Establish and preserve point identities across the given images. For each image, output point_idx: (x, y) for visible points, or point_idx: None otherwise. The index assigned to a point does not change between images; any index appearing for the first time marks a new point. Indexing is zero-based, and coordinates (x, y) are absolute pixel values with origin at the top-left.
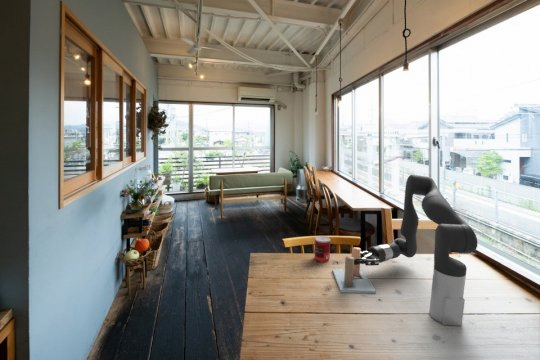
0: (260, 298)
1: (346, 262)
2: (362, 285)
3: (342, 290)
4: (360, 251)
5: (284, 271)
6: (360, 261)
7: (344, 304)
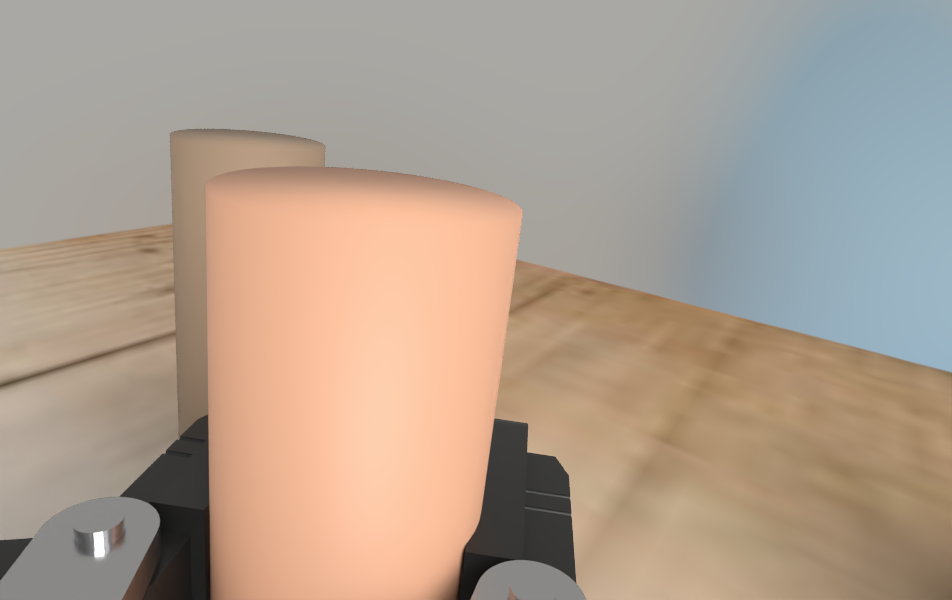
0: (535, 278)
1: None
2: None
3: None
4: (207, 266)
5: (825, 421)
6: (147, 490)
7: (139, 400)
